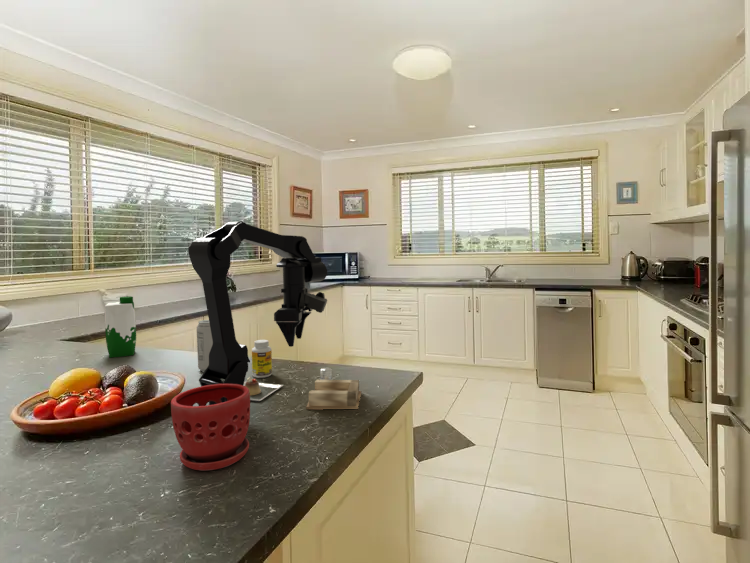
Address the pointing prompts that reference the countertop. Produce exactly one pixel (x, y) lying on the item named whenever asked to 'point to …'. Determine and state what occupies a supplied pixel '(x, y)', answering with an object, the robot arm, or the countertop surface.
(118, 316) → the milk carton
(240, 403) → the plant pot
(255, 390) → the dessert
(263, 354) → the supplement bottle
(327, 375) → the steel post
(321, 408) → the cork mat
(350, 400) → the c link
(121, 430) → the countertop surface
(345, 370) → the countertop surface
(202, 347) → the energy drink can
